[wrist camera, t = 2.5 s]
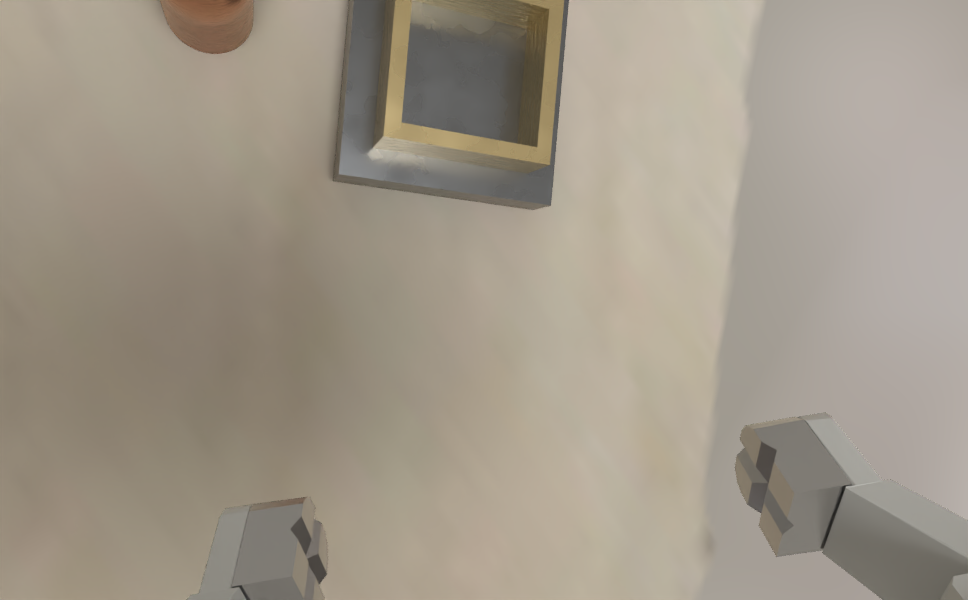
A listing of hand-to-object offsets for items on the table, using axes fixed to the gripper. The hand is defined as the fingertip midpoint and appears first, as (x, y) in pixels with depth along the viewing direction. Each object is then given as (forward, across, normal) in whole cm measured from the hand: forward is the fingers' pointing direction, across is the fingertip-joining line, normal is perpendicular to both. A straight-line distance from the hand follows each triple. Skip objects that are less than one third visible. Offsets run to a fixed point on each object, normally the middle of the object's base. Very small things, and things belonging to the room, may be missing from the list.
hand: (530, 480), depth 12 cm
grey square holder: (+38, 0, +4) cm, 38 cm away
